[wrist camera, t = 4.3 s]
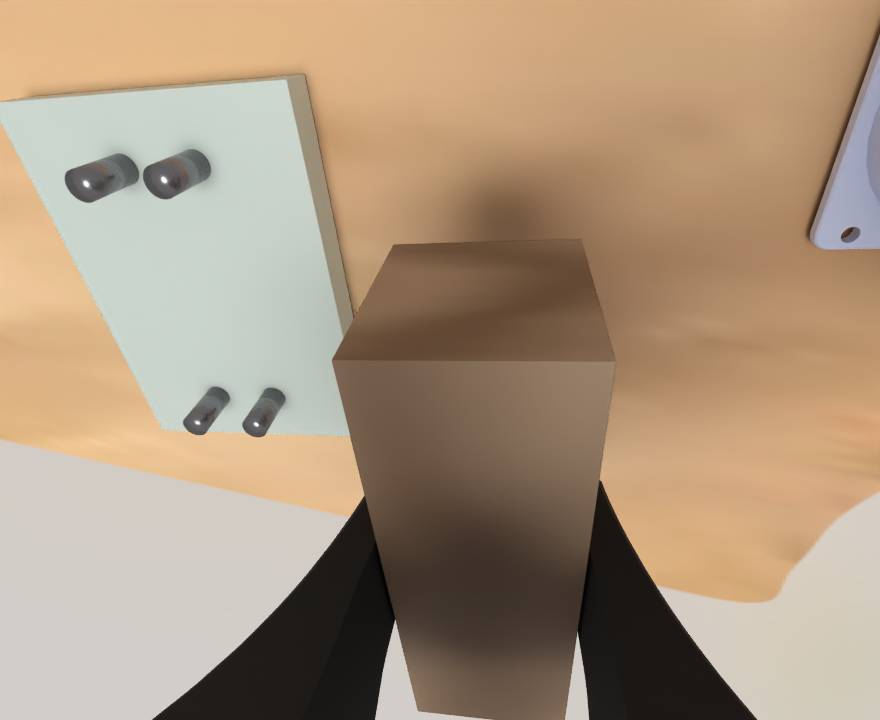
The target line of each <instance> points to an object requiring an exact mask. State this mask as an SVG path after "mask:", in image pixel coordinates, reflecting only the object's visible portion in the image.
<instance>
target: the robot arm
mask: <svg viewBox="0 0 880 720" xmlns="http://www.w3.org/2000/svg"><path fill="white" fill-rule="evenodd" d="M850 227H853V231H852V233H851V234H850V235H849V236H847V237H845V238H841V235H842V233H843V232H844V231H845V230H846V229H848V228H850ZM810 240H811V242H812V243H813V244H814V245H816V246H817V247H818V248H820V249H824V250H843V249H880V36H879V38H878V41H877V44H876V47H875V50H874V53H873V55H872V58H871V61H870V64H869V67H868V70H867V72H866V75H865V78H864V81H863V84H862V87H861V89H860V92H859V95H858V98H857V101H856V104H855V107H854V109H853V112H852V115H851V118H850V121H849V124H848V126H847V129H846V132H845V135H844V138H843V141H842V143H841V146H840V149H839V152H838V155H837V158H836V160H835V163H834V166H833V169H832V172H831V175H830V177H829V180H828V183H827V186H826V189H825V192H824V194H823V197H822V200H821V203H820V206H819V209H818V212H817V214H816V217H815V220H814V223H813V226H812V229H811V231H810ZM394 622H395V616H394V612H393V608H392V603H391V599H390V595H389V591H388V587H387V583H386V579H385V575H384V571H383V567H382V563H381V559H380V555H379V551H378V547H377V543H376V539H375V535H374V530H373V526H372V522H371V518H370V514H369V510H368V506H367V502H366V498H365V496H364V497H363V499H362V500H361V502H360V503H359V505H358V506H357V508H356V509H355V511H354V512H353V514H352V515H351V517H350V518H349V520H348V521H347V522H346V524H345V525H344V527H343V528H342V529H341V531H340V532H339V534H338V535H337V536H336V538H335V539H334V541H333V542H332V543H331V545H330V546H329V547H328V548H327V550H326V551H325V552H324V554H323V555H322V556H321V557H320V559H319V560H318V561H317V562H316V564H315V565H314V566H313V567H312V569H311V570H310V571H309V572H308V574H307V575H306V576H305V577H304V578H303V580H302V581H301V582H300V583H299V584H298V585H297V587H296V588H295V589H294V590H293V591H292V592H291V593H290V594H289V596H288V597H287V598H286V599H285V600H284V601H283V602H282V603H281V605H279V607H278V608H277V609H276V610H275V611H274V612H273V613H272V614H271V615H270V616H269V617H268V618H267V619H266V620H265V621H264V622H263V623H262V624H261V625H260V626H259V627H258V628H257V629H256V630H255V631H254V632H253V633H252V634H251V635H250V636H249V637H248V638H247V639H246V640H245V641H244V642H243V643H242V644H241V645H240V646H239V647H238V648H237V649H235V650H234V651H233V652H232V653H231V654H230V655H229V656H228V657H226V658H225V659H224V660H223V661H222V662H221V663H220V664H219V665H217V666H216V667H215V668H214V669H213V670H212V671H211V672H210V673H208V674H207V675H206V676H205V677H204V678H203V679H202V680H201V681H199V682H198V683H197V684H196V685H195V686H193V687H192V688H191V689H190V690H189V691H188V692H187V693H185V694H184V695H183V696H181V697H180V698H179V699H177V700H176V701H175V702H174V703H172V704H171V705H170V706H169V707H167V708H166V709H165V710H164V711H162V712H161V713H160V714H159V715H157V716H156V717H155V718H154V719H153V720H375V715H376V710H377V704H378V697H379V691H380V685H381V679H382V672H383V668H384V663H385V658H386V654H387V649H388V645H389V642H390V637H391V633H392V629H393V625H394ZM578 636H579V642H580V648H581V654H582V660H583V666H584V673H585V680H586V688H587V697H588V709H589V720H757V719H756V718H755V717H754V715H753V714H752V713H751V712H750V711H749V710H748V708H747V707H746V706H745V705H744V704H743V702H742V701H741V700H740V699H739V698H738V696H737V695H736V694H735V693H734V692H733V690H732V689H731V688H730V687H729V686H728V684H727V683H726V682H725V681H724V680H723V678H722V677H721V676H720V675H719V673H718V672H717V671H716V670H715V668H714V667H713V666H712V665H711V663H710V662H709V660H708V659H707V658H706V657H705V655H704V654H703V653H702V651H701V650H700V649H699V647H698V646H697V645H696V643H695V642H694V641H693V639H692V638H691V637H690V635H689V634H688V632H687V631H686V630H685V628H684V627H683V626H682V624H681V623H680V621H679V620H678V618H677V617H676V616H675V614H674V613H673V611H672V610H671V608H670V607H669V605H668V604H667V602H666V601H665V599H664V598H663V596H662V595H661V593H660V591H659V590H658V588H657V587H656V585H655V584H654V582H653V580H652V579H651V577H650V575H649V574H648V572H647V571H646V569H645V567H644V566H643V564H642V562H641V560H640V559H639V557H638V555H637V553H636V552H635V550H634V548H633V546H632V545H631V543H630V541H629V539H628V537H627V536H626V534H625V532H624V530H623V528H622V526H621V524H620V522H619V520H618V518H617V516H616V514H615V512H614V510H613V508H612V506H611V503H610V501H609V499H608V497H607V494H606V492H605V489H604V487H603V484H602V482H601V481H600V480H599V485H598V492H597V499H596V506H595V513H594V520H593V527H592V534H591V541H590V548H589V555H588V562H587V569H586V576H585V583H584V589H583V596H582V603H581V610H580V617H579V624H578Z"/></svg>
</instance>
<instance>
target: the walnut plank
mask: <svg viewBox="0 0 880 720" xmlns="http://www.w3.org/2000/svg"><path fill="white" fill-rule="evenodd" d="M332 364H333V368H334V372H335V376H336V380H337V384H338V389H339V393H340V397H341V401H342V405H343V409H344V413H345V417H346V421H347V425H348V429H349V433H350V437H351V441H352V445H353V449H354V453H355V457H356V462H357V466H358V470H359V474H360V478H361V482H362V486H363V490H364V494H365V498H366V502H367V506H368V510H369V514H370V518H371V522H372V526H373V530H374V535H375V539H376V543H377V547H378V551H379V555H380V559H381V563H382V567H383V571H384V575H385V579H386V583H387V587H388V591H389V595H390V599H391V603H392V608H393V612H394V616H395V620H396V624H397V628H398V632H399V636H400V640H401V644H402V648H403V652H404V656H405V660H406V664H407V668H408V672H409V677H410V681H411V685H412V689H413V692H414V697H415V701H416V705H417V709H418V711H422V712H430V713H439V714H448V715H456V716H465V717H475V718H483V719H492V720H565V714H566V708H567V701H568V694H569V687H570V680H571V673H572V666H573V659H574V651H575V645H576V638H577V631H578V624H579V617H580V610H581V603H582V596H583V589H584V583H585V576H586V569H587V562H588V555H589V548H590V541H591V534H592V527H593V520H594V513H595V506H596V499H597V492H598V485H599V478H600V471H601V464H602V457H603V450H604V443H605V436H606V429H607V422H608V415H609V409H610V402H611V395H612V388H613V381H614V374H615V367H616V359H615V356H614V352H613V349H612V345H611V342H610V338H609V335H608V331H607V328H606V324H605V321H604V318H603V314H602V311H601V307H600V304H599V300H598V297H597V293H596V290H595V286H594V283H593V279H592V276H591V272H590V269H589V265H588V262H587V258H586V255H585V251H584V248H583V244H582V241H581V239H561V240H529V241H496V242H464V243H431V244H399V245H393V247H392V249H391V251H390V252H389V254H388V256H387V258H386V260H385V262H384V264H383V266H382V267H381V269H380V271H379V273H378V275H377V277H376V279H375V280H374V282H373V284H372V286H371V288H370V290H369V292H368V293H367V295H366V297H365V299H364V301H363V303H362V305H361V306H360V308H359V310H358V312H357V314H356V316H355V318H354V319H353V321H352V323H351V325H350V327H349V329H348V331H347V332H346V334H345V336H344V338H343V340H342V342H341V344H340V346H339V347H338V349H337V351H336V353H335V355H334V357H333V359H332Z"/></svg>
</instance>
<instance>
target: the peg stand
mask: <svg viewBox="0 0 880 720" xmlns="http://www.w3.org/2000/svg"><path fill="white" fill-rule="evenodd" d="M0 122H1V124H2V126H3V127H4V129H5V131H6V133H7V135H8V137H9V139H10V141H11V143H12V145H13V146H14V148H15V150H16V152H17V154H18V156H19V158H20V160H21V162H22V164H23V165H24V167H25V169H26V171H27V173H28V175H29V177H30V179H31V181H32V183H33V184H34V186H35V188H36V190H37V192H38V194H39V196H40V198H41V200H42V202H43V204H44V205H45V207H46V209H47V211H48V213H49V215H50V217H51V219H52V221H53V223H54V224H55V226H56V228H57V230H58V232H59V234H60V236H61V238H62V240H63V242H64V243H65V245H66V247H67V249H68V251H69V253H70V255H71V257H72V259H73V261H74V262H75V264H76V266H77V268H78V270H79V272H80V274H81V276H82V278H83V280H84V282H85V283H86V285H87V287H88V289H89V291H90V293H91V295H92V297H93V299H94V301H95V302H96V304H97V306H98V308H99V310H100V312H101V314H102V316H103V318H104V320H105V321H106V323H107V325H108V327H109V329H110V331H111V333H112V335H113V337H114V339H115V340H116V342H117V344H118V346H119V348H120V350H121V352H122V354H123V356H124V358H125V360H126V361H127V363H128V365H129V367H130V369H131V371H132V373H133V375H134V377H135V379H136V380H137V382H138V384H139V386H140V388H141V390H142V392H143V394H144V396H145V398H146V399H147V401H148V403H149V405H150V407H151V409H152V411H153V413H154V415H155V417H156V418H157V420H158V422H159V424H160V426H161V428H162V430H174V431H189V432H191V433H193V434H195V435H203V434H205V433H206V432H234V433H248V434H249V435H251V436H254V437H262V436H264V435H265V434H295V435H325V436H350V433H349V429H348V425H347V421H346V417H345V413H344V409H343V405H342V401H341V397H340V393H339V389H338V384H337V380H336V376H335V372H334V368H333V364H332V359H333V357H334V355H335V353H336V351H337V349H338V347H339V346H340V344H341V342H342V340H343V338H344V336H345V334H346V332H347V331H348V329H349V327H350V325H351V323H352V321H353V319H354V318H353V313H352V308H351V303H350V298H349V293H348V288H347V283H346V278H345V273H344V268H343V263H342V258H341V253H340V248H339V243H338V238H337V233H336V228H335V223H334V218H333V213H332V208H331V203H330V198H329V194H328V189H327V184H326V179H325V174H324V169H323V164H322V159H321V154H320V149H319V144H318V139H317V134H316V129H315V124H314V119H313V114H312V109H311V104H310V99H309V94H308V89H307V84H306V79H305V74H302V75H290V76H278V77H266V78H253V79H241V80H229V81H217V82H204V83H192V84H180V85H168V86H155V87H143V88H131V89H119V90H106V91H94V92H82V93H70V94H57V95H45V96H33V97H25V98H19V99H13V100H7V101H1V102H0Z"/></svg>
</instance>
